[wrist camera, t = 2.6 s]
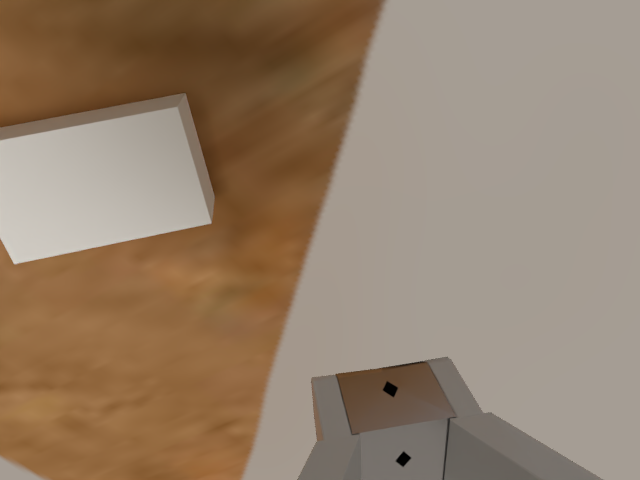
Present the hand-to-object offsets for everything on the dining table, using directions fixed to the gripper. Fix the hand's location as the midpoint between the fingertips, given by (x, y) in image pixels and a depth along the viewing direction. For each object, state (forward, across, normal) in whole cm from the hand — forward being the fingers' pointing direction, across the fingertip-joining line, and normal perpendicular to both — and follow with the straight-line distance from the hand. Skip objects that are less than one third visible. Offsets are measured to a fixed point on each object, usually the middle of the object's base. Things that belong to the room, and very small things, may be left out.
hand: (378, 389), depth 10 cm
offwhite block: (+19, +10, 0) cm, 22 cm away
